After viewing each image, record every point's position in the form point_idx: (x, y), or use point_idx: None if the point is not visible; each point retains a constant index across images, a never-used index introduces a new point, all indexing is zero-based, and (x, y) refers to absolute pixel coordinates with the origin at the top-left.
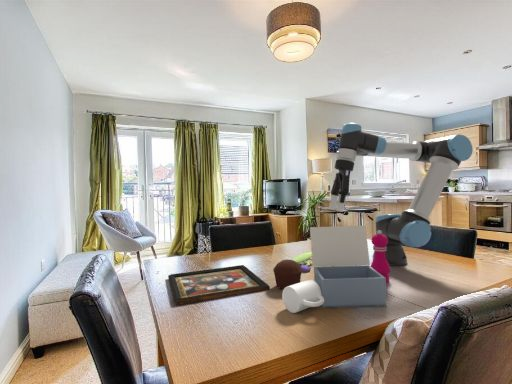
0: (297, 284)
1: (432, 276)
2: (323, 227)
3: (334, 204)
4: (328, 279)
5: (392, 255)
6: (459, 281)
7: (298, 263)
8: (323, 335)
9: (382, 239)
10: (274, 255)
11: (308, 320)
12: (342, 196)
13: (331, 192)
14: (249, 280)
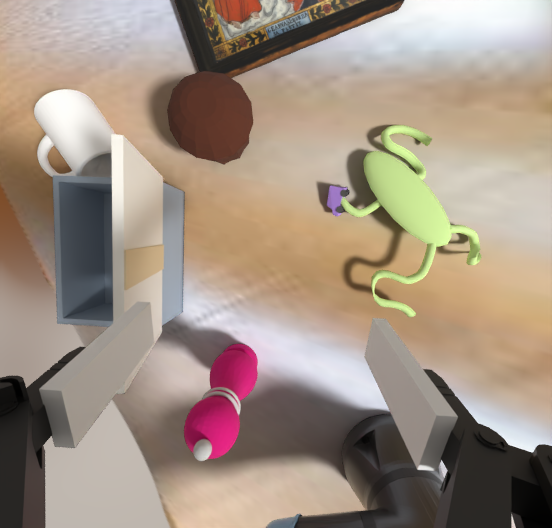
0: (56, 117)
1: (249, 480)
2: (113, 201)
3: (382, 376)
4: (54, 191)
5: (354, 467)
6: (212, 509)
7: (368, 182)
8: (7, 164)
9: (184, 430)
10: (542, 123)
11: (54, 150)
12: (31, 395)
13: (537, 455)
14: (268, 29)
